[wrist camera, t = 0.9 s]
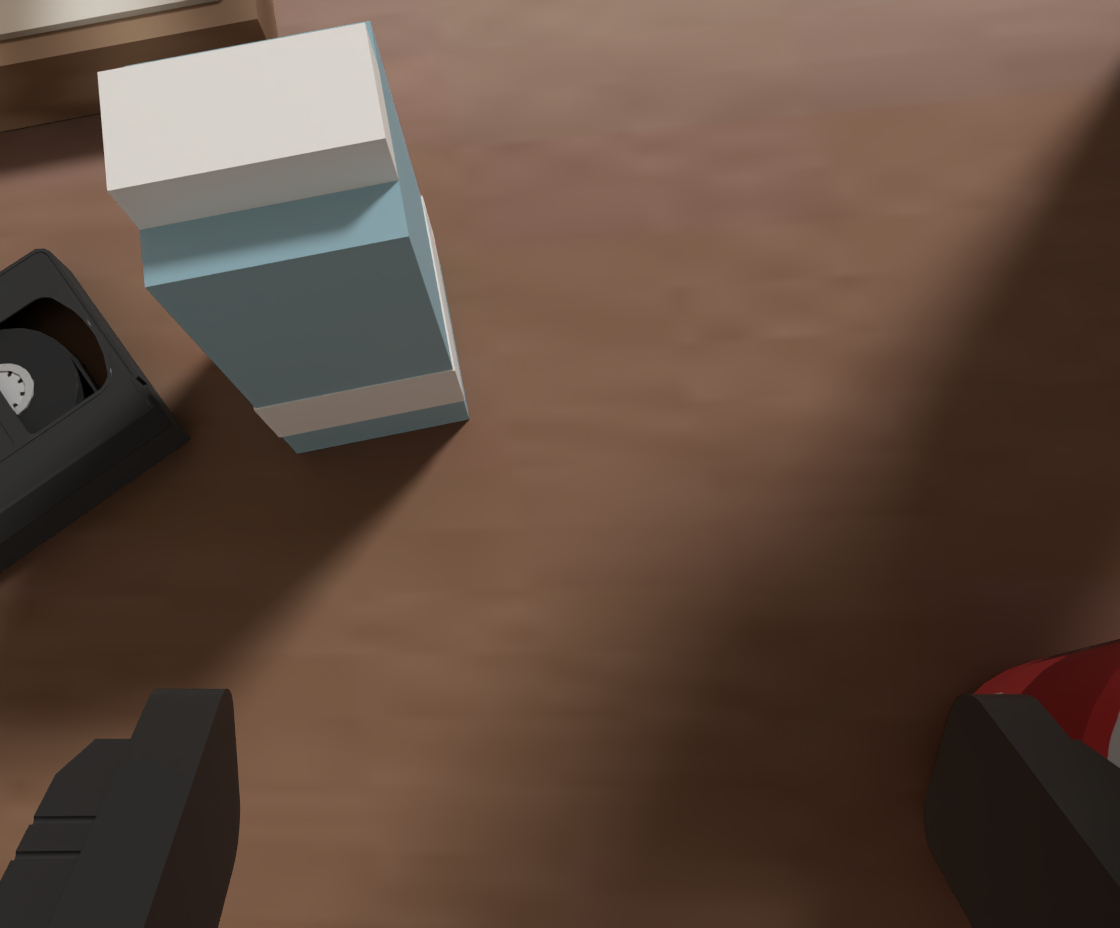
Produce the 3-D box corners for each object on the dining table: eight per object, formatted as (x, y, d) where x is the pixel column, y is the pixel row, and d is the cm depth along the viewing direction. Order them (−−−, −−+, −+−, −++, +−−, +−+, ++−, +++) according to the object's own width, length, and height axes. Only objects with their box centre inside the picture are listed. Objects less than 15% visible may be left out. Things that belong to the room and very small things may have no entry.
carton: (441, 264, 34) (357, -33, 21) (471, 420, 32) (399, 199, 20) (274, 296, 33) (90, 16, 21) (295, 455, 32) (110, 254, 19)
